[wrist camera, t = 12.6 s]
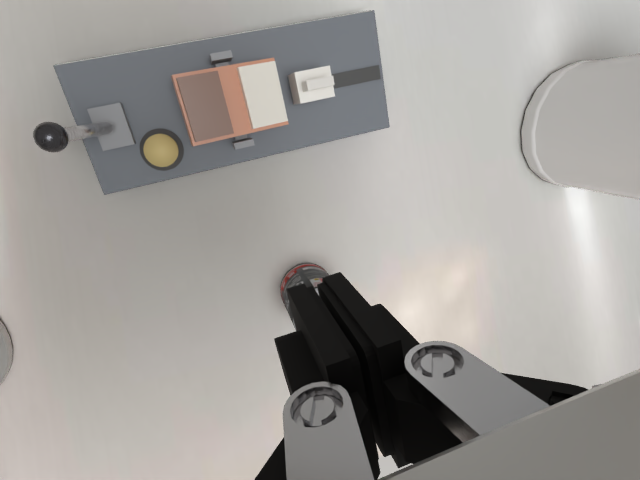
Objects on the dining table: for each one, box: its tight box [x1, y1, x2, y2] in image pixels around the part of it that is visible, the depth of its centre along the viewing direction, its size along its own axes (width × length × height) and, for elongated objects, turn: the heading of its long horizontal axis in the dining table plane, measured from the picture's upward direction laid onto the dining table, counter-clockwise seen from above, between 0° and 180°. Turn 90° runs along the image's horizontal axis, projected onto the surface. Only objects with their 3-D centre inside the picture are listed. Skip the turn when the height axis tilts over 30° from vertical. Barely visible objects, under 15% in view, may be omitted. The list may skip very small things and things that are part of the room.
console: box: [54, 10, 389, 195], centre depth 34 cm, size 26×10×6 cm, turn 101°
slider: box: [288, 65, 335, 105], centre depth 33 cm, size 3×2×4 cm
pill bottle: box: [281, 264, 329, 329], centre depth 39 cm, size 6×6×10 cm
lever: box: [33, 122, 113, 152], centre depth 27 cm, size 2×2×7 cm
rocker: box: [171, 58, 289, 146], centre depth 31 cm, size 8×5×2 cm, turn 101°
